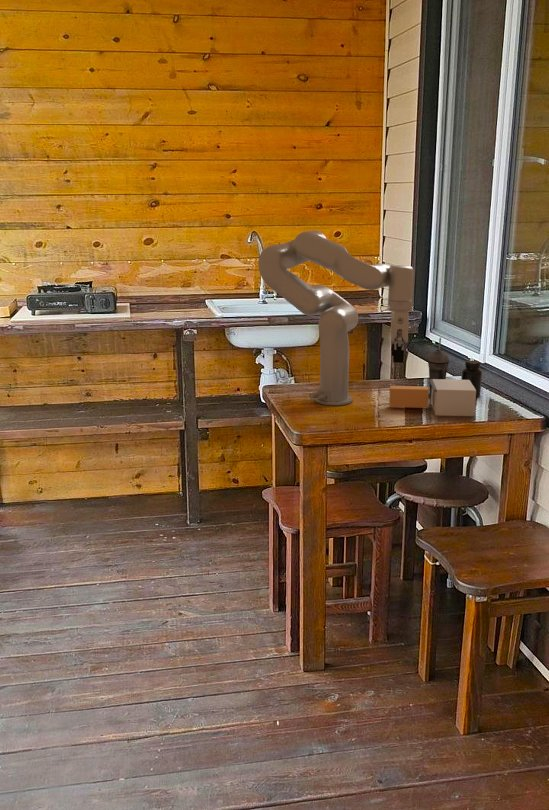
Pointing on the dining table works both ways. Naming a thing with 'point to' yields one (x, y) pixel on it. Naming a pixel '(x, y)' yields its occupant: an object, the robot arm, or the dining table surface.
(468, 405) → the beige rectangular block
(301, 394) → the dining table surface
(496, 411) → the dining table surface
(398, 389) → the orange rectangular block
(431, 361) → the beverage cup
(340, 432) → the dining table surface
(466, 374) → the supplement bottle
